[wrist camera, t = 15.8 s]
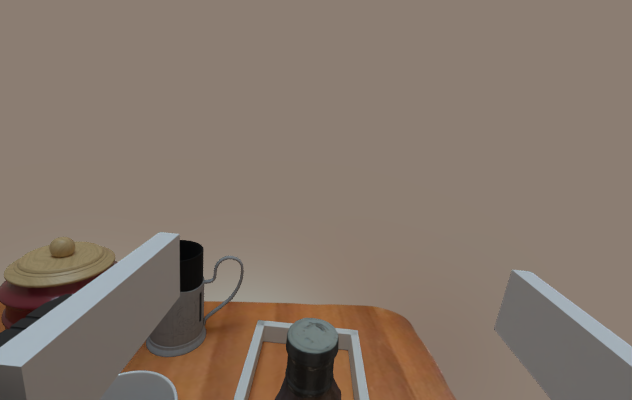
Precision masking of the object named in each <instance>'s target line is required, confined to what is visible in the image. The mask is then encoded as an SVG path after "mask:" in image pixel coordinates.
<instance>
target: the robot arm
mask: <svg viewBox="0 0 632 400" xmlns="http://www.w3.org/2000/svg"><path fill="white" fill-rule="evenodd" d="M179 297H180V238H179V234H173V233H163V232H159V233H158V234H156V235H155V236H154V237H152V238H151V239H150V240H148V241H147V242H145V243H144V244H143V245H141V246H140V247H138V248H137V249H136V250H134V251H133V252H131V253H130V254H129V255H127V256H126V257H125V258H123V259H122V260H120V261H119V262H118V263H116V264H115V265H113V266H112V267H111V268H109V269H108V270H107V271H105V272H104V273H102V274H101V275H100V276H98V277H97V278H95V279H94V280H93V281H91V282H90V283H89V284H87V285H86V286H84V287H83V288H82V289H80V290H79V291H77V292H76V293H75V294H65V295H63V296H60V297H58V298H56V299H53V300H51V301H49V302H46V303H44V304H43V305H41V306H40V307H38V308H37V309H35V310H34V311H32V312H31V313H29V314H28V315H26V317H25V319H24V318H22V319H20V320H19V321H17V322H16V323H15V324H13V325H12V326H10V329H6V330H4V331H3V332H1V333H0V400H99V399H100V398H101V397H102V395H103V394H104V393H105V392H106V390H107V389H108V388H109V386H110V385H111V384H112V383H113V381H114V380H115V379H116V378H117V376H118V375H119V374H120V372H121V371H122V370H123V369H124V367H125V366H126V365H127V363H128V362H129V361H130V360H131V358H132V357H133V356H134V355H135V353H136V352H137V351H138V349H139V348H140V347H141V346H142V344H143V343H144V342H145V340H146V339H147V338H148V337H149V335H150V334H151V333H152V331H153V330H154V329H155V328H156V326H157V325H158V324H159V323H160V321H161V320H162V319H163V317H164V316H165V315H166V314H167V312H168V311H169V310H170V308H171V307H172V306H173V305H174V303H175V302H176V301H177V299H178V298H179ZM494 330H495V331H496V332H497V333H498V335H499V336H500V337H501V338H502V340H503V341H504V342H505V343H506V345H507V346H508V347H509V348H510V350H511V351H512V352H513V353H514V354H515V356H516V357H517V358H518V359H519V361H520V362H521V363H522V364H523V366H524V367H525V368H526V369H527V370H528V372H529V373H530V374H531V375H532V377H533V378H534V379H535V380H536V382H537V383H538V384H539V385H540V387H541V388H542V389H543V390H544V392H545V393H546V394H547V395H548V397H549V398H550V399H551V400H632V346H630V345H629V344H627V343H626V342H625V341H624V340H622V339H621V338H619V337H618V336H617V335H615V334H614V333H613V332H611V331H610V330H609V329H607V328H606V327H604V326H603V325H602V324H601V323H599V322H598V321H597V320H595V319H594V318H593V317H591V316H590V315H588V314H587V313H586V312H585V311H583V310H582V309H580V308H579V307H578V306H576V305H575V304H574V303H572V302H571V301H570V300H568V299H567V298H566V297H564V296H563V295H562V294H560V293H559V292H558V291H556V290H555V289H554V288H552V287H551V286H550V285H548V284H547V283H546V282H544V281H543V280H541V279H540V278H539V277H537V276H536V275H535V274H533V273H532V272H530V271H520V270H512V271H511V274H510V278H509V281H508V284H507V287H506V291H505V294H504V297H503V301H502V304H501V308H500V311H499V314H498V317H497V320H496V324H495V327H494Z"/></svg>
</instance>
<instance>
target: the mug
mask: <svg viewBox="0 0 632 400" xmlns="http://www.w3.org/2000/svg"><path fill="white" fill-rule="evenodd" d="M99 400H178V396H177V391H176V388H175V386H174V385H173V383H172V382H171V381H170V380H169V379H168V378H167V377H165V376H163V375H161V374H159V373H156V372H152V371H130V372H125V373H120V374H119V375H118V376H117V378H116V379H115V380H114V381H113V383H112V384H111V385H110V386H109V388H108V389H107V390H106V392H105V393H104V394H103V395H102V397H101V398H100V399H99Z"/></svg>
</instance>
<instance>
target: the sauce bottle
mask: <svg viewBox="0 0 632 400" xmlns="http://www.w3.org/2000/svg"><path fill="white" fill-rule="evenodd" d="M338 344H339V337H338V333H337V331H336V329H335V328H334V327H333V326H332V325H331V324H330V323H328V322H326V321H324V320H320V319H315V318H304V319H300V320H298V321H296V322H295V323H294V324H292V325H291V326H290V328H289V330H288V332H287V340H286V350H287V353H288V362H287V368H286V372H285V373H286V375H285V379H284V381H283V384H282V386H281V389H280V391H279V393H278V395H277V396H276V398H275V400H341V391H340V389H339V388H338V386H337V384H336V382H335V380H334V378H333V364H334V358H335V357H336V355H337V352H338Z"/></svg>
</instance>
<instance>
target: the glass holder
mask: <svg viewBox="0 0 632 400" xmlns="http://www.w3.org/2000/svg"><path fill="white" fill-rule="evenodd" d="M227 259H233V260H236V261H238V262H239V263H240V265H241V276H240V280H239V283H238V285H237V287H236V289H235V291H234V292H233V293H232V295H231V296H230V297H229V298H228V299H227V300H226V301H224V302H223V303H222V304H221V305H219V306H218V307H216V308H215V309H214V310H212V311H211V312H210V313H209V314H208V315H206V316H205V318H204V284H207V283H211V282H213V281H214V280H215V278H216V272H217V268H218V266H219V264H220V263H221V262H222V261H224V260H227ZM242 279H243V264H242V262H241V261H240V259H238V258H237V257H234V256H225V257H223V258H221V259H220V260H219V261H218V262H217V263H216V265H215V268H214V276H213V278H212V279H210V280H204V277H203V247H202V246H201V245H200V244H198V243H196V242H192V241H186V240H180V297H179V298H178V299H177V301H176V302H175V303H174V305H173V306H172V307H171V308H170V310H169V311H168V312H167V314H166V315H165V316H164V317H163V319H162V320H161V321H160V323H159V324H158V325H157V326H156V328H155V329H154V330H153V331H152V333H151V334H150V335H149V337H148V338H147V340H146V346H147V348H148V350H149V351H150V352H151V353H153V354H155V355H158V356H162V357H174V356H180V355H183V354H186V353H189V352H191V351H192V350H194V349H196V348H197V347H198V346H199V345H200V344H202V342H203V341H204V339H205V337H206V329H205V324H206V320H207V319H208V318H209V317H210V316H211V315H213V314H214V313H215V312H217V311H218V310H220V309H221V308H222V307H223V306H225V305H226V304H227V303H228V302H229V301H231V300H232V299H233V297H234V296H235V294H236V293H237V291H238V289H239V288H240V285H241V282H242ZM203 320H204V322H203Z"/></svg>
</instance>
